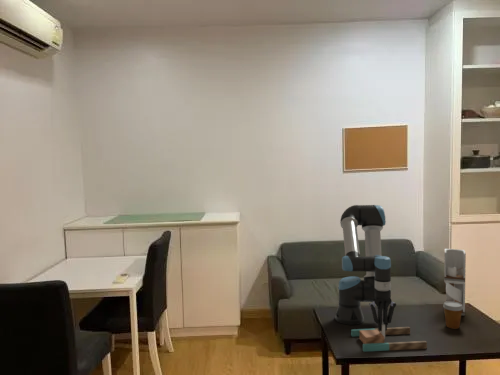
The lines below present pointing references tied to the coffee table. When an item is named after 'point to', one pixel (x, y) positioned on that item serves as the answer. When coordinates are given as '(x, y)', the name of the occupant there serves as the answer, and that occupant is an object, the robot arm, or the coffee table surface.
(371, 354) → the coffee table surface
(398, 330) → the lane walls
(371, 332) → the wooden block
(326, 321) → the coffee table surface
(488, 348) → the coffee table surface
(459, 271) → the white open shelf
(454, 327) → the disposable coffee cup
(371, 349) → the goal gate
